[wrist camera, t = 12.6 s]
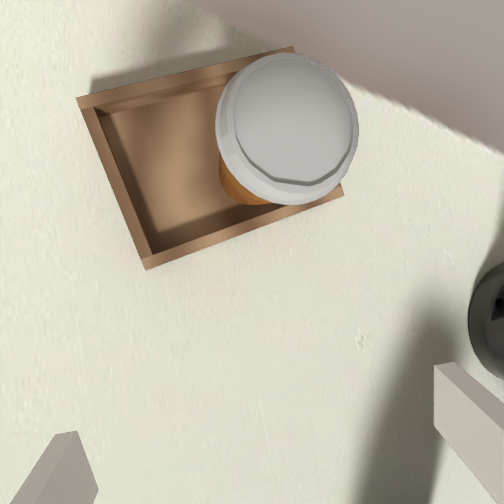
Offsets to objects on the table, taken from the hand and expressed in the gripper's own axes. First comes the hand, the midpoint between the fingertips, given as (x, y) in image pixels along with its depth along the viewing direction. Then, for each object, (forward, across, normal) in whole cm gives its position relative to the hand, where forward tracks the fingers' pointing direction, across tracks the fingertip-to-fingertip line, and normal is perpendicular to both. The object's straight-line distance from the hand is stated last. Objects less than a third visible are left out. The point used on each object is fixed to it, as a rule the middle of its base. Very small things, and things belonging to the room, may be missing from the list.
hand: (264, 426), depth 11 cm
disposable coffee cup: (+22, -2, -8) cm, 24 cm away
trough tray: (+23, 0, -10) cm, 25 cm away
